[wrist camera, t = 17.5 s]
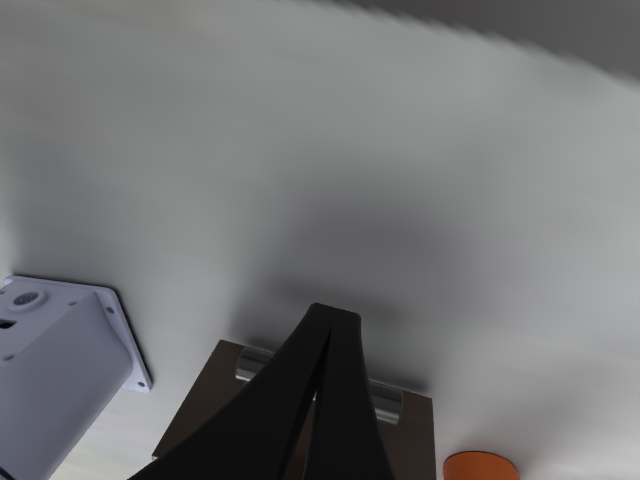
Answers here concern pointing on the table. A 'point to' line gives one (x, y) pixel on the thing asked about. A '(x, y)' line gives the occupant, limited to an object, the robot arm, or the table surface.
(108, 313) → the robot arm
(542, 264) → the table surface
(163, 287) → the table surface
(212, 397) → the drawer
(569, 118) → the table surface
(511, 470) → the bottle
